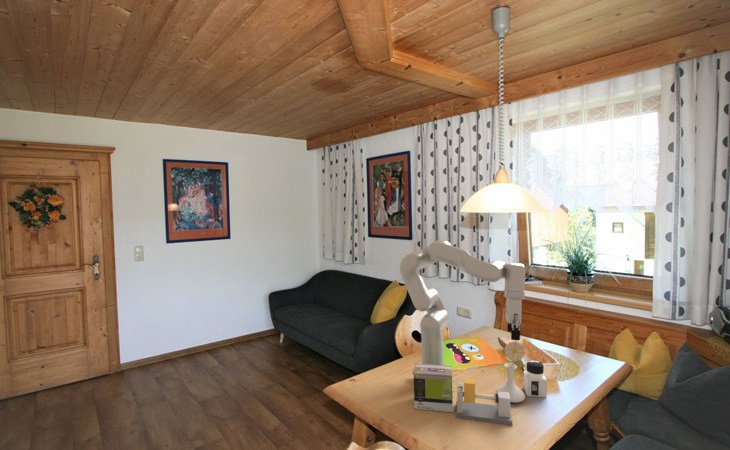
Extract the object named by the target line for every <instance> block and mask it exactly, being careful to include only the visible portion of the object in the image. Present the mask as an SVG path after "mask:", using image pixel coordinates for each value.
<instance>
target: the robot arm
mask: <svg viewBox="0 0 730 450" xmlns="http://www.w3.org/2000/svg"><path fill="white" fill-rule="evenodd" d="M438 262H440V263H442V264H446V265H448V266H451V267H452V268H453V267H454V268H456V269H459V270H461V271H462V272H464V273H465V274H467V275H469V276H471V277H474V278H476V279H478V280H482V281H485V282H488V283H496V282H499V281H500V280H501V279H504V298H505V299H506V300H505V310H504V311H505V313H504V317H505V320H506V322H507V326H506V327H507V328H506V329H507V332H510V338H511V340H512V341H520V340H521V327H520V325H521V324H522V312H523V311H522V307H523V306H522V305H523V304H522V303H523V302H522V301H523V300H525V291H526V285H525V284H526V266H525V265H524V263H520V262H519V263H518V262H505V261H502V260H493V261H490V262H487V261H484V260H481V259H478V258H476V257H474V256H473V255H471V254H470V253H469V251H468V250H466V249H464V248H460V247H457V246H455V245H452V244H451V243H450V242H449V241H448V240H445V239H438V240H435V241H432V242H431V243H430V244H429V245H428V246H426V247H423V248H421V249H419V250H416V251H415V250H414V251H412V252H410V253H408V254H406V255H405V256H404V257H402V260H401V262H400V264H399V274H400V277H401V279H402V281H403V283H404V285H405V288H406V290H407V292H408V294H409V296H410V299H411V302H412V305H413V306H414V308H415V309H416V310H417V311H418V312H426V313H425V314H424V315H423V316H422V318H421V320H420V323H419V329H420V338H421V364H429V365H444V339H443V334H442V331H443V329H445V328H446V326H447V325H448V324H449V321H450V317H449V313H448V310H447V308H446V307H445V304H444V302H443V300H442V298H441V295H440V293H439V291H437V290H436V289H435V288H434V287H432V286H426V283H425V280H424V279H423V277H422V276H421V275H420V273H419V270H422V269H424V268H427V267H429V266H431V265H433V264H435V263H438ZM411 373H412V375H414V369H412V372H411Z"/></svg>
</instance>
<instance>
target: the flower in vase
mask: <svg viewBox="0 0 730 450" xmlns="http://www.w3.org/2000/svg"><path fill="white" fill-rule="evenodd" d="M525 350H526V349H525V346H524V345H523V344H522V343H520V342H519V341H518V340H515V341H514V340H512V341H511V342H508V343H507V344H506V346H505V347H504V354H505V355H504V358H505V359H506V360H507V361H508V363H507V362H505V363H504V365H503V366H504V367H505V369H506V372H507V373H506V374H507V380H506V382H505V383H504V384H502V385H500V386H499V387H498V388H497V389H496V390H495V394H498V391H500V392H509V396H510V403H521V402H523V401H524V400H525V399H526V393H524V392H525V391H523V390H522V389H521V388H519V387H518V386H517V385H516V384H515V381H514V375H515V371H516V369H517V368H518V367H519V368H526V366H525V364H524V362H523V360H522V359H523V358H524V357H525V354H526V352H525ZM515 363H516V364H515Z"/></svg>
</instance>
